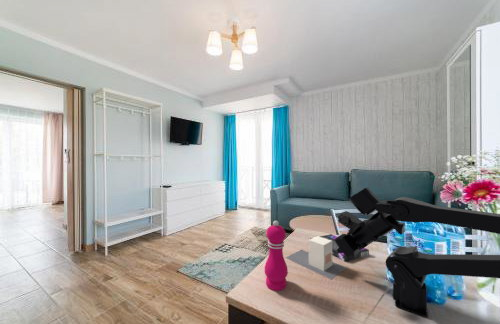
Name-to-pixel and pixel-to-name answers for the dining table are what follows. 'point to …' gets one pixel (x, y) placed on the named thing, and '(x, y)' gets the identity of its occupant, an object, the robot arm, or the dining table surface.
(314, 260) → the block
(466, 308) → the dining table surface
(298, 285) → the dining table surface
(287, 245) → the dining table surface
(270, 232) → the pepper mill
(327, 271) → the mat
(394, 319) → the dining table surface
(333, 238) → the box
